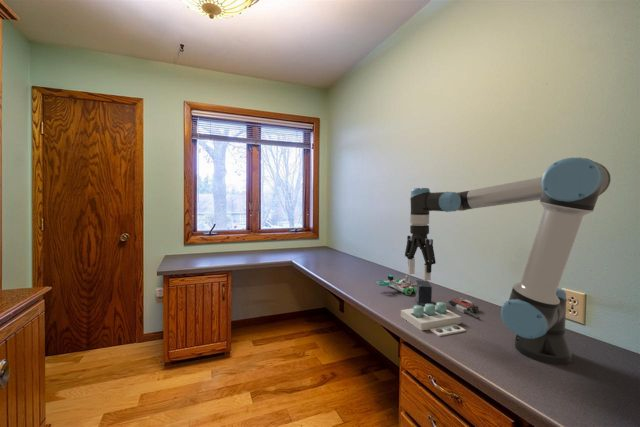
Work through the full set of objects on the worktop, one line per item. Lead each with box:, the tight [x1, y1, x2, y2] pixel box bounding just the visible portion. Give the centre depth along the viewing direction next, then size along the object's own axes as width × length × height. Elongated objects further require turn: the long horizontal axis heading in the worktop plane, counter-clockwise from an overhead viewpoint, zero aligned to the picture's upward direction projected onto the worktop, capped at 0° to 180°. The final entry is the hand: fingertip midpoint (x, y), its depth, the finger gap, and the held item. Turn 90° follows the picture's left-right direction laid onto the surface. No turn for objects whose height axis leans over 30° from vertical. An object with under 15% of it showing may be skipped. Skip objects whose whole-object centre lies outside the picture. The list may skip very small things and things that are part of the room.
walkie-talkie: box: [448, 297, 480, 319], centre depth 131 cm, size 9×4×20 cm
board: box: [400, 304, 462, 331], centre depth 121 cm, size 14×20×3 cm
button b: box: [425, 303, 436, 316], centre depth 120 cm, size 4×4×4 cm
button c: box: [412, 305, 424, 318], centre depth 119 cm, size 4×4×4 cm
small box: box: [415, 279, 433, 307], centre depth 140 cm, size 11×6×10 cm, turn 168°
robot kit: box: [375, 274, 416, 296], centre depth 160 cm, size 19×25×9 cm
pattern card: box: [429, 324, 467, 337], centre depth 111 cm, size 5×13×1 cm, turn 108°
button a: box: [435, 301, 448, 314], centre depth 122 cm, size 4×4×4 cm
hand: (419, 276), depth 118 cm, fingers open, 10 cm apart
